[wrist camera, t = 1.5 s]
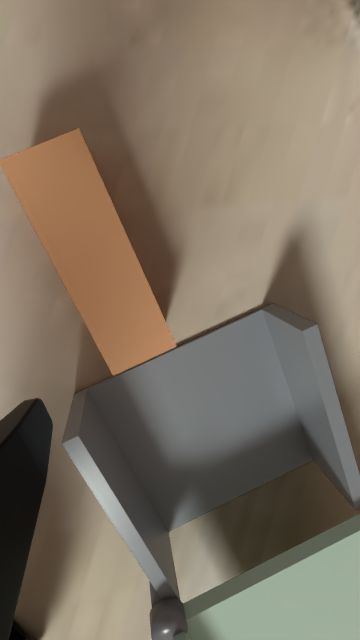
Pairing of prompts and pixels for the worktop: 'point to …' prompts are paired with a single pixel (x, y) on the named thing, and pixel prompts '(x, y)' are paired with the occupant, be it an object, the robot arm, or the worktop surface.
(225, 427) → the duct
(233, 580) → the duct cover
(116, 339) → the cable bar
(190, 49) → the worktop surface
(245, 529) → the worktop surface
